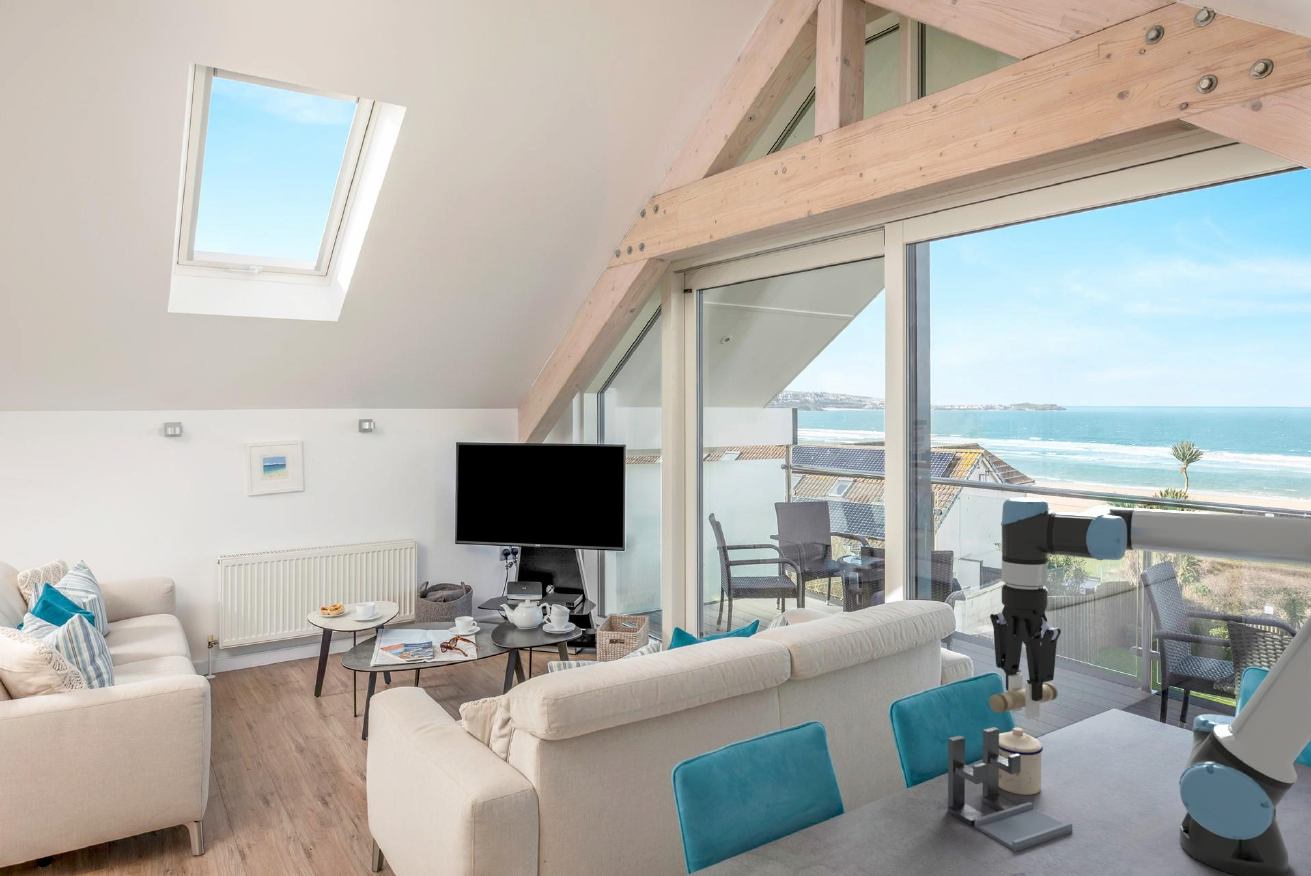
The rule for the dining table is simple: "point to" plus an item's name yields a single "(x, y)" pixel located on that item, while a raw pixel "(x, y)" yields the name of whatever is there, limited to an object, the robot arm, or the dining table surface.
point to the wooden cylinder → (1019, 698)
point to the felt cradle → (1021, 826)
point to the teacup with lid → (1030, 762)
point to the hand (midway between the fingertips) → (1023, 713)
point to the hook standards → (978, 776)
